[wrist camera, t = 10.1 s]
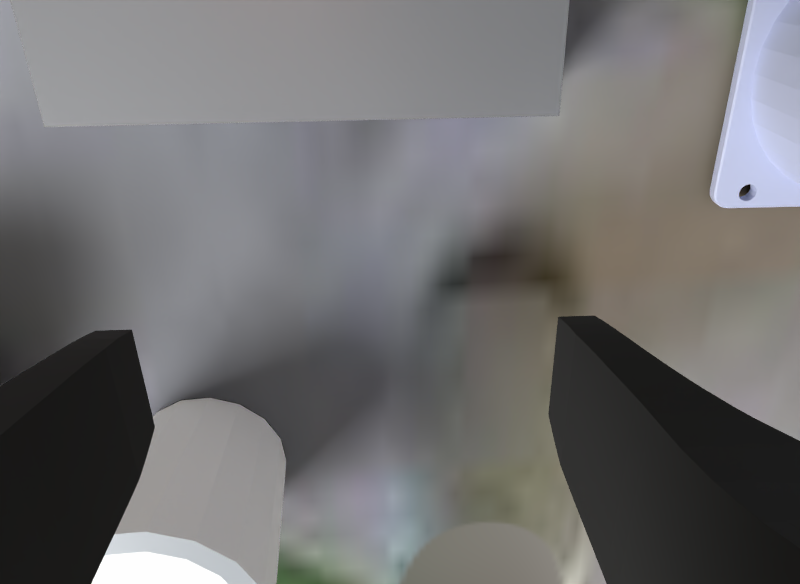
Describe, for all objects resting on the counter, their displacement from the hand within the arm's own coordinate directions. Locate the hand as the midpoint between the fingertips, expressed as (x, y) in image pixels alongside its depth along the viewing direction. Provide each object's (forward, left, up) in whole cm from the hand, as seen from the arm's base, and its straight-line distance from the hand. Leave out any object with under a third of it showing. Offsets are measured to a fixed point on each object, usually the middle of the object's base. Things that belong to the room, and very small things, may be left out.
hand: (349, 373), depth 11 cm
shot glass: (+7, +11, -11) cm, 17 cm away
